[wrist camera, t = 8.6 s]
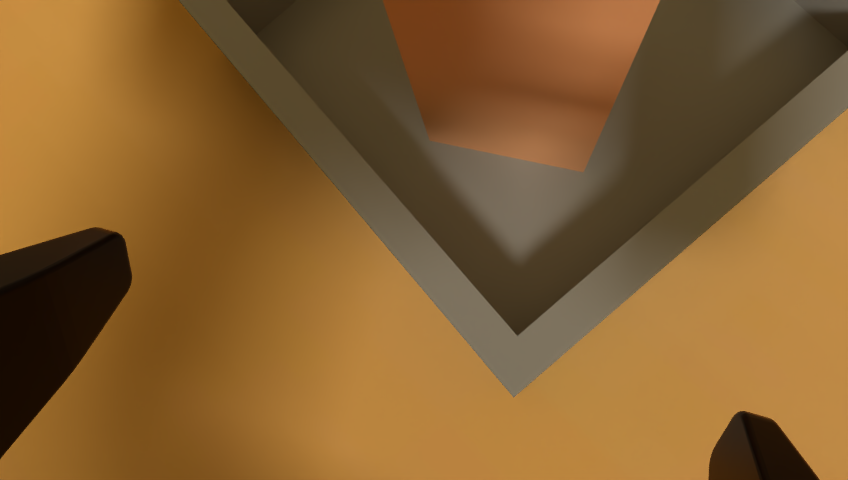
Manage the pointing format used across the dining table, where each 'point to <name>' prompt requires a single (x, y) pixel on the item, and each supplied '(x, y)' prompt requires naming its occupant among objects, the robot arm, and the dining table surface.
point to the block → (519, 71)
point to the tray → (538, 183)
